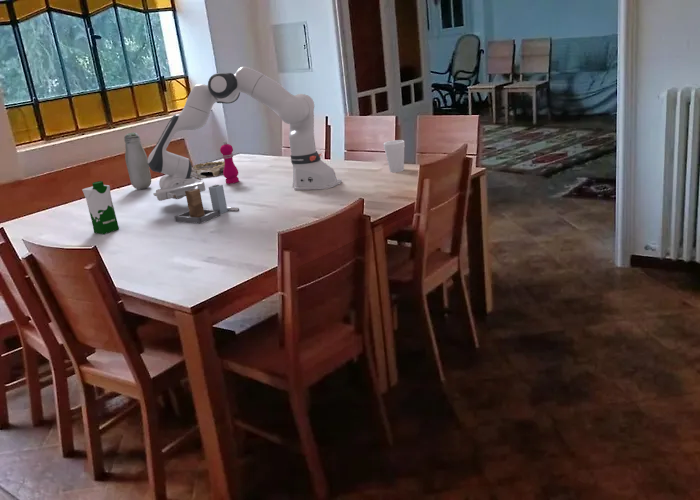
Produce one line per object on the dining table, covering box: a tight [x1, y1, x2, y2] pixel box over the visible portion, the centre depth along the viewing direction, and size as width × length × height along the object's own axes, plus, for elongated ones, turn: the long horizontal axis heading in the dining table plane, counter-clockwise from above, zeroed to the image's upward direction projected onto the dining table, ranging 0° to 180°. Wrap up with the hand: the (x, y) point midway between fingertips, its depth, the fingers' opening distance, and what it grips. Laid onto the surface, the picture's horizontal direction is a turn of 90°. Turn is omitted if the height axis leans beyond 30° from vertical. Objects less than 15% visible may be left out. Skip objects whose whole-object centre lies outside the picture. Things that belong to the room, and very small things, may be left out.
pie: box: [191, 160, 225, 179], centre depth 362 cm, size 28×27×5 cm
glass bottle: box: [123, 132, 152, 190], centre depth 340 cm, size 10×10×28 cm
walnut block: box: [185, 189, 205, 217], centre depth 273 cm, size 4×4×11 cm
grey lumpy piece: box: [190, 171, 203, 181], centre depth 329 cm, size 9×8×10 cm
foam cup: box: [383, 139, 406, 173], centre depth 309 cm, size 10×9×13 cm
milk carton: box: [81, 180, 120, 235], centre depth 271 cm, size 9×9×20 cm
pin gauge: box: [227, 206, 240, 212], centre depth 280 cm, size 10×2×2 cm
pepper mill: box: [219, 140, 240, 185], centre depth 329 cm, size 7×7×20 cm
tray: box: [174, 208, 221, 224], centre depth 274 cm, size 14×11×2 cm
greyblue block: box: [208, 184, 229, 215], centre depth 278 cm, size 4×4×11 cm
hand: (185, 193), depth 282 cm, fingers open, 8 cm apart
